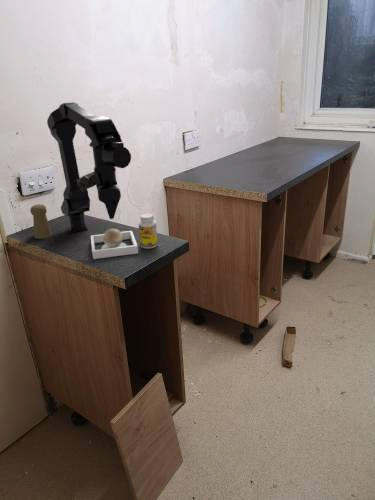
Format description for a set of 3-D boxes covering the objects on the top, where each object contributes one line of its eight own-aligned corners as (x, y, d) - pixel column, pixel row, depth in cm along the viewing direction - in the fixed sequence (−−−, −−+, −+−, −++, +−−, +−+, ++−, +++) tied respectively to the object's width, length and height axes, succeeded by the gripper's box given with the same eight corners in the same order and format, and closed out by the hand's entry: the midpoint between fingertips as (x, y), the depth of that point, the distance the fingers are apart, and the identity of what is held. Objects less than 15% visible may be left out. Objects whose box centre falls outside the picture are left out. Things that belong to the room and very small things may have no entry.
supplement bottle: (136, 247, 127) (134, 217, 123) (146, 241, 131) (144, 211, 127) (151, 250, 124) (149, 219, 120) (161, 244, 129) (159, 214, 125)
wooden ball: (122, 242, 130) (120, 225, 128) (124, 249, 125) (122, 231, 123) (103, 244, 129) (101, 227, 127) (105, 251, 124) (102, 233, 121)
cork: (46, 231, 143) (40, 201, 138) (55, 234, 139) (50, 204, 135) (30, 236, 139) (24, 206, 134) (40, 240, 135) (34, 209, 131)
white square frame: (91, 242, 132) (90, 235, 131) (132, 237, 135) (131, 230, 134) (93, 259, 120) (92, 251, 119) (138, 253, 122) (137, 245, 121)
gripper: (76, 159, 123) (83, 208, 129) (76, 172, 106) (84, 227, 112) (112, 157, 125) (117, 204, 131) (118, 168, 109) (123, 222, 115)
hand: (110, 214), depth 122 cm, fingers open, 9 cm apart
